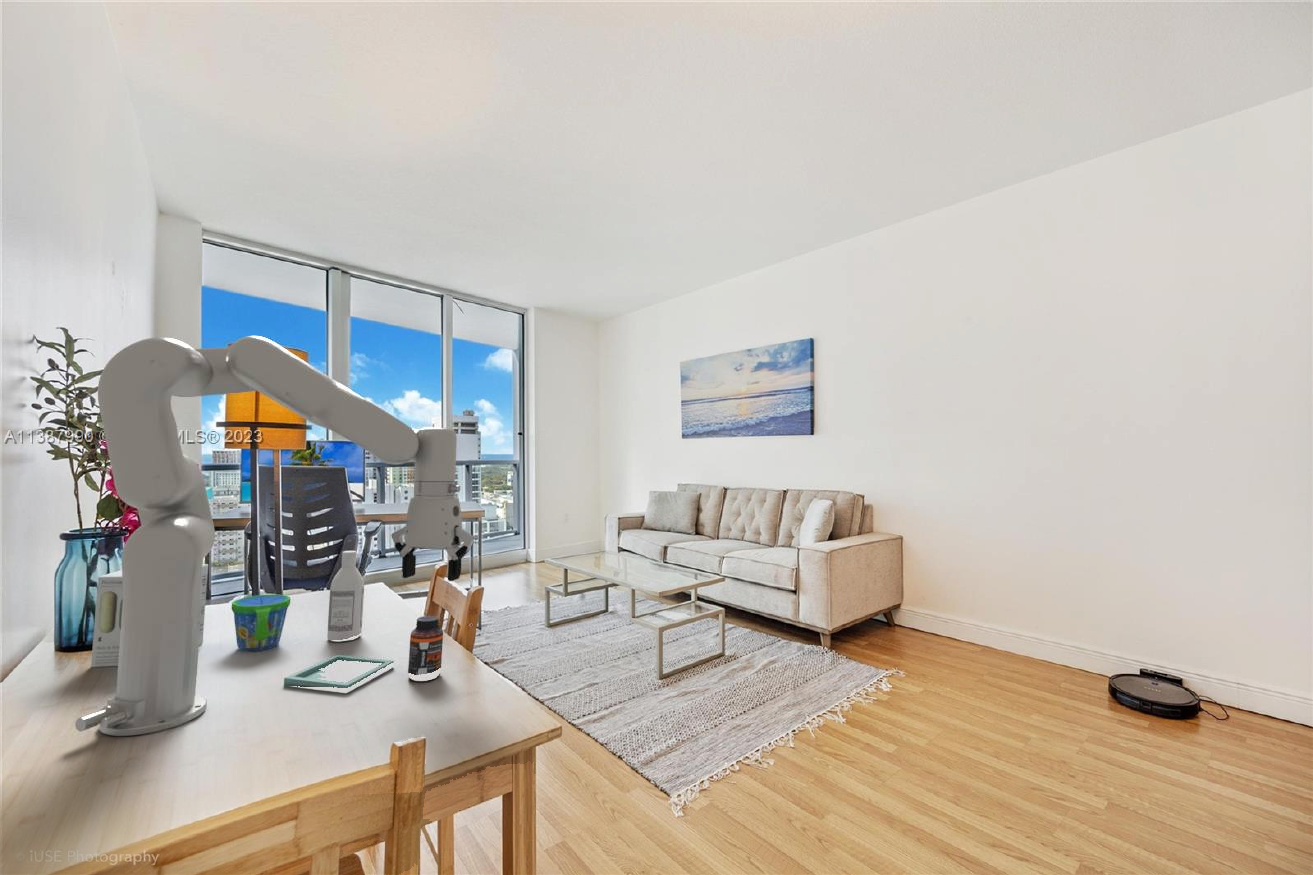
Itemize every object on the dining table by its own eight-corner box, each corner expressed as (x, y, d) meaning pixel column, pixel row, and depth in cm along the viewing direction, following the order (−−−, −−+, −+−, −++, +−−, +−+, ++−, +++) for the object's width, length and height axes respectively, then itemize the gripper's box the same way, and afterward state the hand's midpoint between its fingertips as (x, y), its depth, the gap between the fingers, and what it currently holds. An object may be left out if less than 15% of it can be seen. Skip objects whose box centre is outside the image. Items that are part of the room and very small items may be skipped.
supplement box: (87, 668, 107) (95, 576, 108) (131, 646, 120) (137, 564, 121) (170, 664, 111) (176, 575, 112) (204, 643, 124) (210, 563, 124)
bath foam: (346, 632, 134) (351, 548, 135) (368, 636, 132) (372, 550, 133) (319, 640, 128) (325, 552, 129) (342, 644, 125) (347, 554, 126)
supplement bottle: (428, 685, 105) (432, 623, 105) (400, 681, 106) (404, 620, 106) (447, 673, 111) (450, 615, 111) (420, 670, 112) (423, 613, 112)
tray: (346, 694, 99) (346, 685, 100) (283, 686, 102) (284, 678, 102) (393, 668, 112) (393, 660, 112) (336, 662, 115) (337, 654, 115)
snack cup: (286, 654, 118) (289, 605, 119) (223, 661, 113) (227, 610, 113) (289, 633, 132) (291, 590, 132) (233, 640, 126) (236, 594, 127)
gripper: (484, 490, 112) (481, 577, 111) (406, 488, 115) (403, 572, 115) (464, 492, 105) (461, 585, 104) (382, 490, 108) (378, 579, 107)
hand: (431, 578), depth 109 cm, fingers open, 9 cm apart
